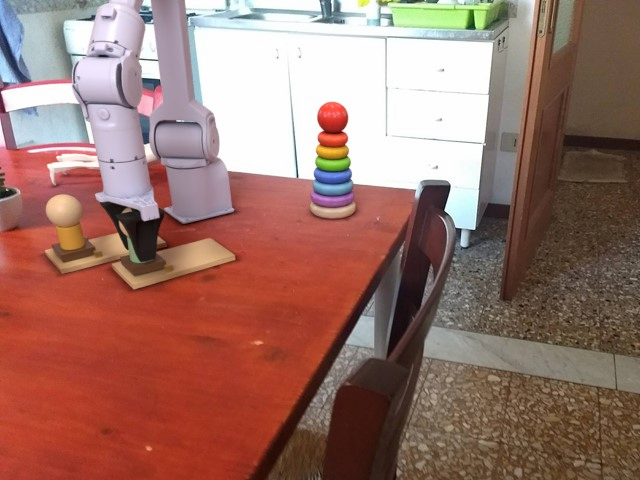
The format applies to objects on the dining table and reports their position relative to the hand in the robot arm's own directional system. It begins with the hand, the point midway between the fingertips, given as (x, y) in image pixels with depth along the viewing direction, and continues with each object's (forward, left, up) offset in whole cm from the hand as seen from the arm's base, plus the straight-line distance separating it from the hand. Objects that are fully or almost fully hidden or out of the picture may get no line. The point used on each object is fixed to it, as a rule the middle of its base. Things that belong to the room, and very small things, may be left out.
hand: (140, 253), depth 87 cm
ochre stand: (+1, -11, -3) cm, 11 cm away
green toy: (-3, 0, +2) cm, 3 cm away
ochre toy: (+4, -11, +2) cm, 11 cm away
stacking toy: (-35, -3, -3) cm, 35 cm away
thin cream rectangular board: (-5, 0, -3) cm, 5 cm away
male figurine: (-13, -42, -3) cm, 44 cm away
